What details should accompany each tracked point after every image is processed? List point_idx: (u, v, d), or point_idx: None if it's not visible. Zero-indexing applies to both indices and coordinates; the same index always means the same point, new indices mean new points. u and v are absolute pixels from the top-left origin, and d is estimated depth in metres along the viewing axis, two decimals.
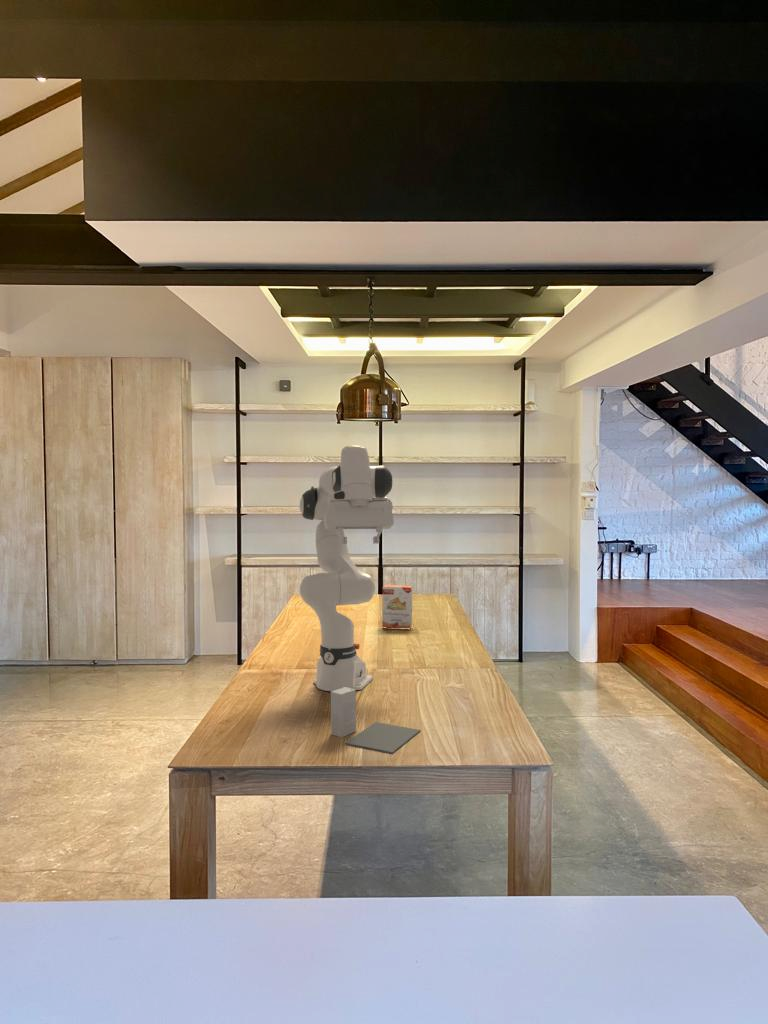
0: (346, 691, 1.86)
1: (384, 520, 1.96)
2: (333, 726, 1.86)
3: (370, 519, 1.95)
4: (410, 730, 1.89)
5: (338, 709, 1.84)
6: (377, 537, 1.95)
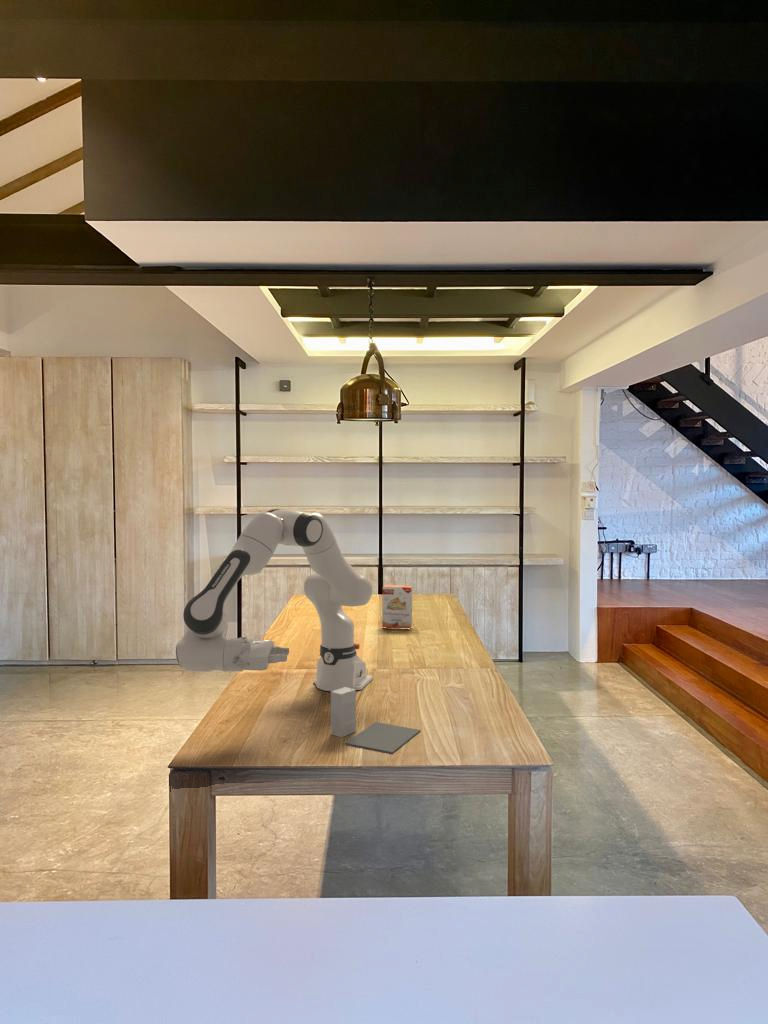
0: (346, 691, 1.86)
1: None
2: (333, 726, 1.86)
3: None
4: (410, 730, 1.89)
5: (338, 709, 1.84)
6: None
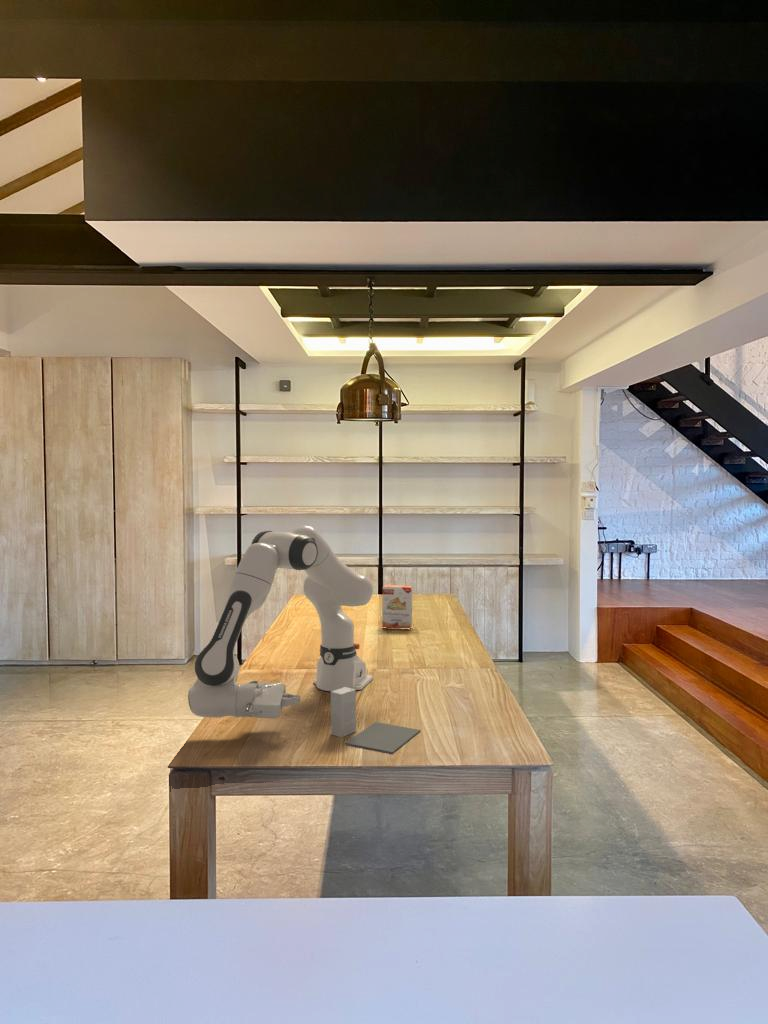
0: (346, 691, 1.86)
1: None
2: (333, 726, 1.86)
3: None
4: (410, 730, 1.89)
5: (338, 709, 1.84)
6: None
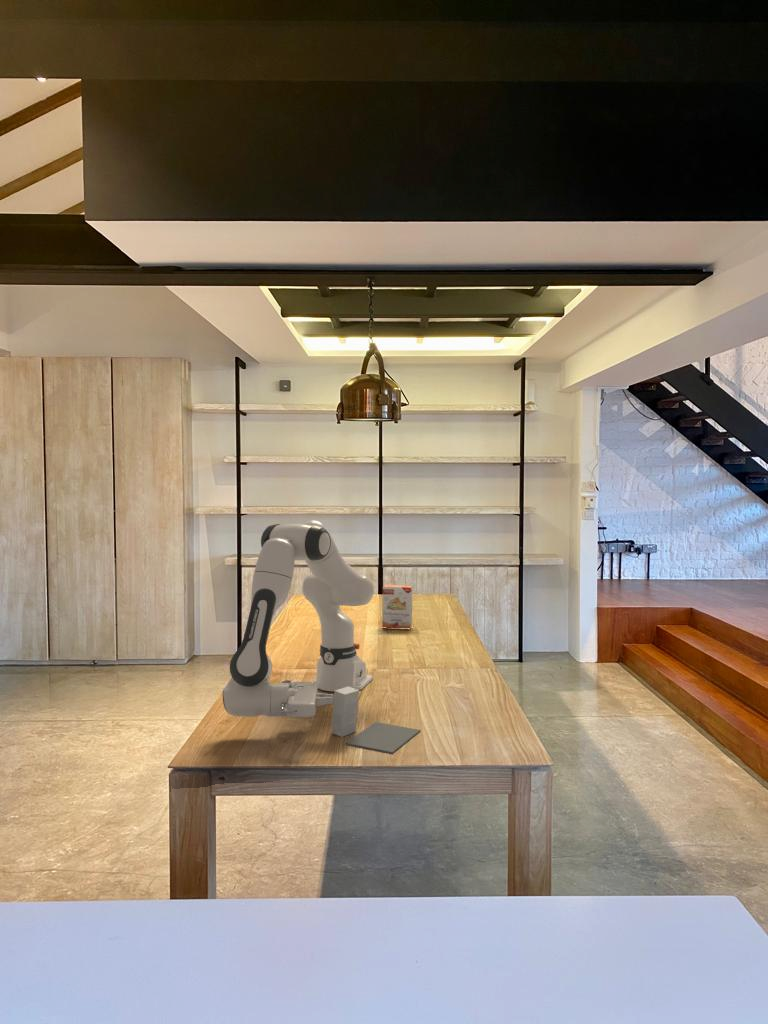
0: (350, 691, 1.85)
1: None
2: (334, 725, 1.85)
3: None
4: (410, 730, 1.89)
5: (340, 709, 1.84)
6: None
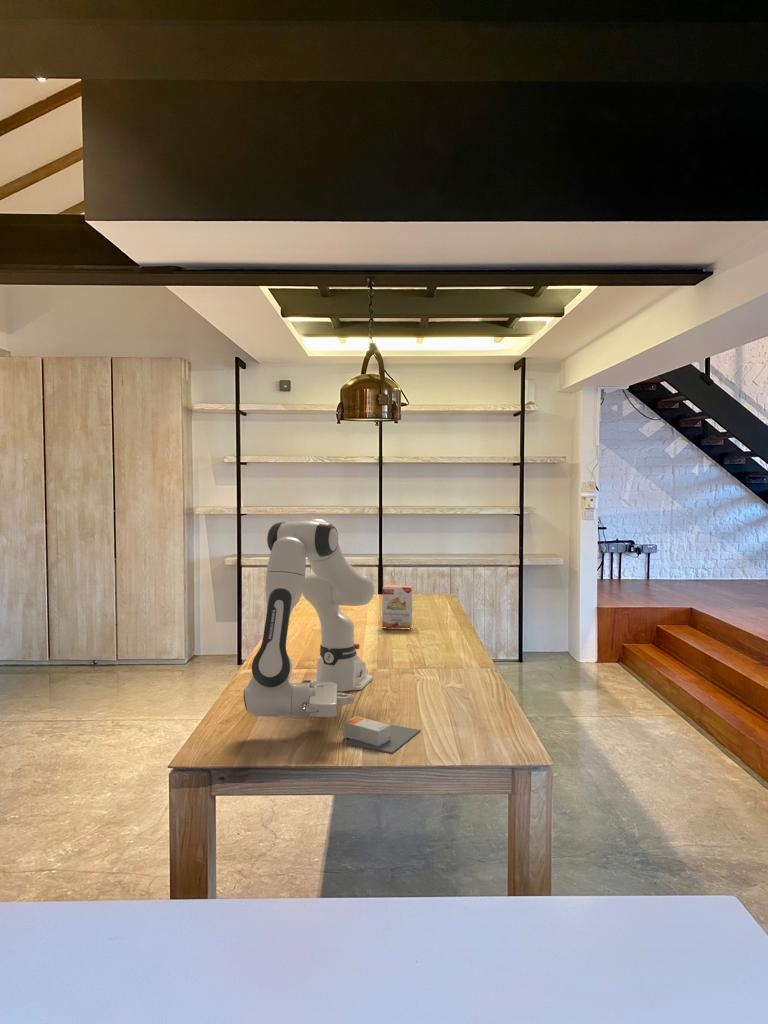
0: (384, 740, 1.79)
1: None
2: (349, 727, 1.82)
3: None
4: (410, 730, 1.89)
5: (364, 738, 1.79)
6: None
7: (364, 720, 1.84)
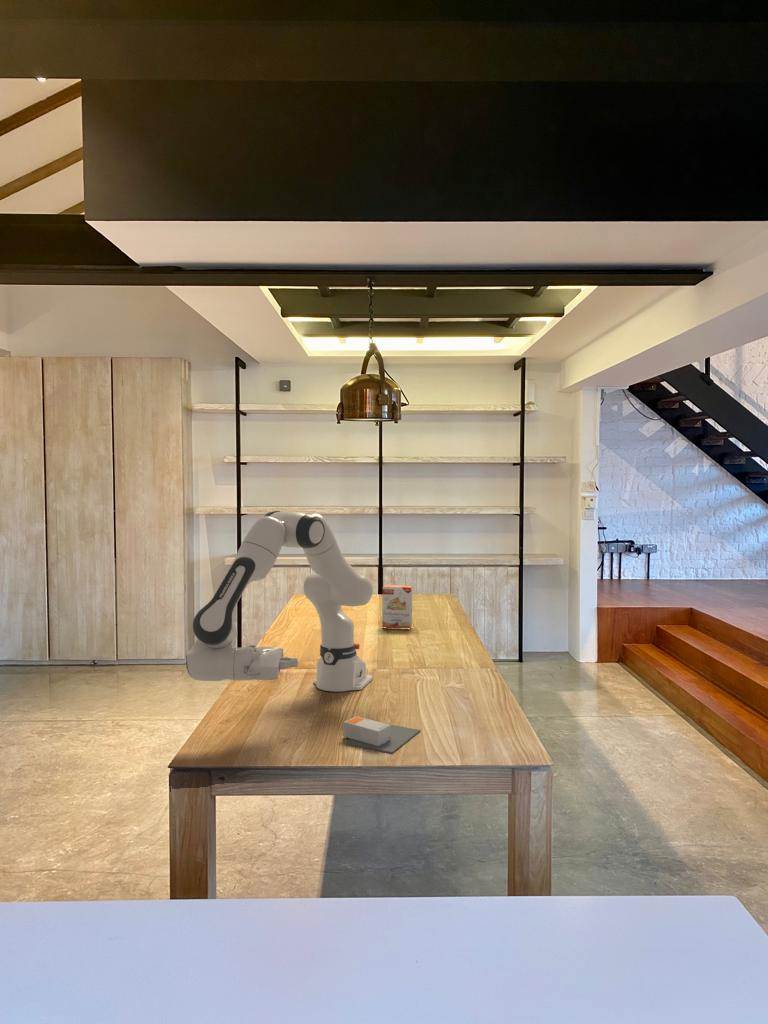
0: (384, 740, 1.79)
1: None
2: (349, 727, 1.82)
3: None
4: (410, 730, 1.89)
5: (364, 738, 1.79)
6: None
7: (364, 720, 1.84)
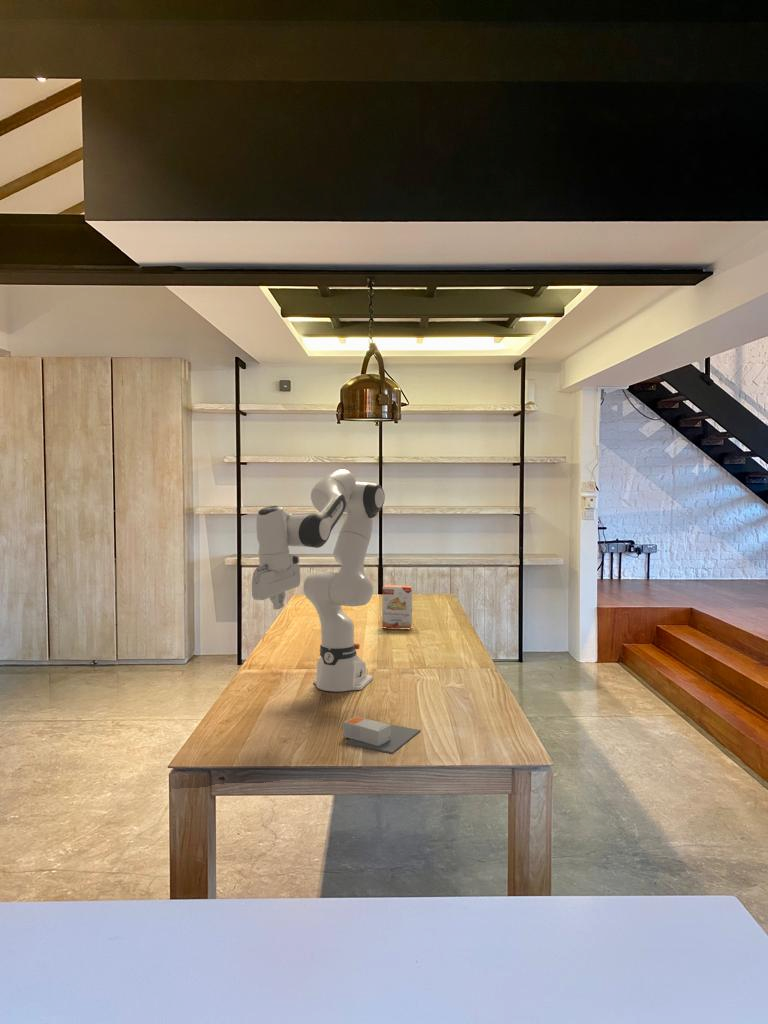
0: (384, 740, 1.79)
1: None
2: (349, 727, 1.82)
3: None
4: (410, 730, 1.89)
5: (364, 738, 1.79)
6: None
7: (364, 720, 1.84)
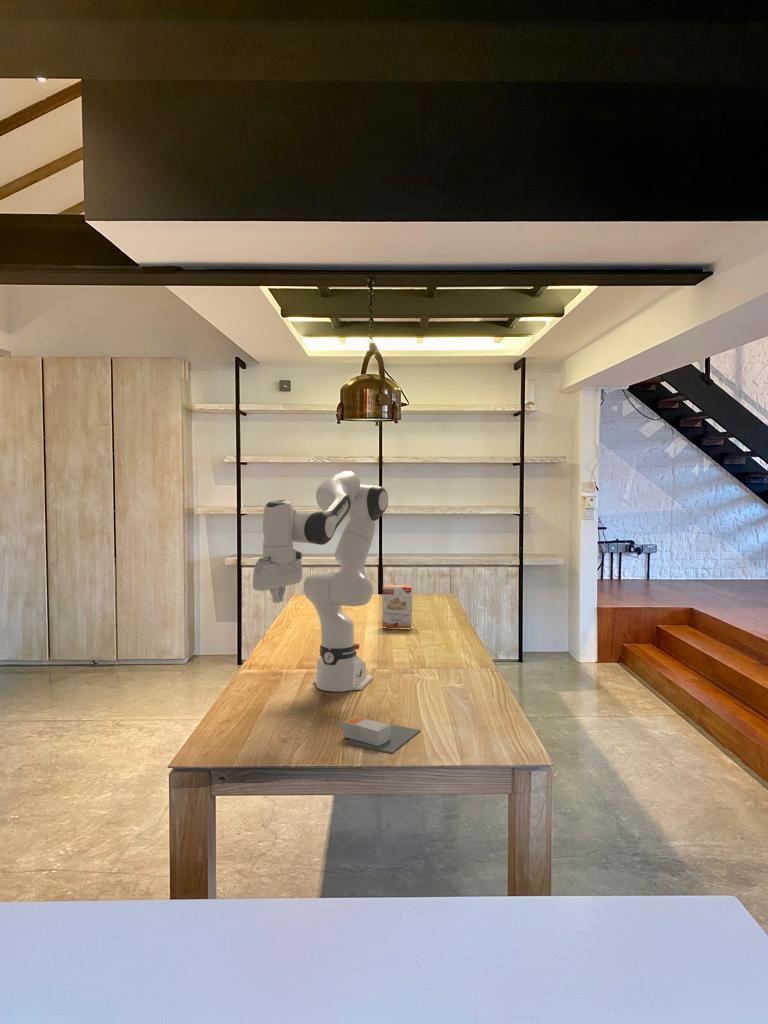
0: (384, 740, 1.79)
1: None
2: (349, 727, 1.82)
3: None
4: (410, 730, 1.89)
5: (364, 738, 1.79)
6: None
7: (364, 720, 1.84)
